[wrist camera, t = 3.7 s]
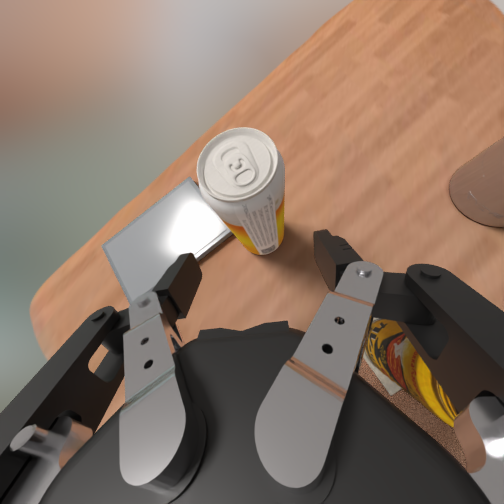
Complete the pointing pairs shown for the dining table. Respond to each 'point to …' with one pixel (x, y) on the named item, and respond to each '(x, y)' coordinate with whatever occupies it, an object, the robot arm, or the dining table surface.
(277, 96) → the dining table surface
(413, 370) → the condiment
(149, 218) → the grey flat slab
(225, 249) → the dining table surface
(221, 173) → the beer can
